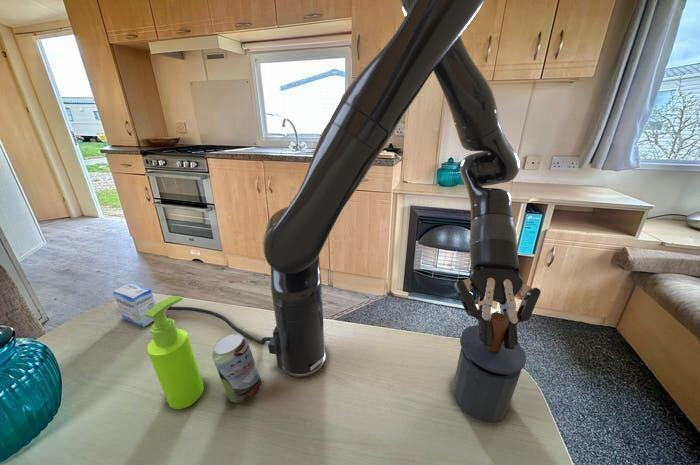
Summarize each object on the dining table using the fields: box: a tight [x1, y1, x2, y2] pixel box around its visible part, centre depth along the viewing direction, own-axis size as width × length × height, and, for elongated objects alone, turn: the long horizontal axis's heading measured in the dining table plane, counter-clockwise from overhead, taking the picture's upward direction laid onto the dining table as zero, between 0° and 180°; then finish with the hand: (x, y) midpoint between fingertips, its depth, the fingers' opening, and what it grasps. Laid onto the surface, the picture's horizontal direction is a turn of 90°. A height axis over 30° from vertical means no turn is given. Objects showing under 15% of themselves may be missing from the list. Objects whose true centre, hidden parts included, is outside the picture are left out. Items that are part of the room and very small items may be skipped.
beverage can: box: [211, 332, 262, 404], centre depth 50 cm, size 6×7×12 cm
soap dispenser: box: [144, 295, 205, 410], centre depth 48 cm, size 6×7×20 cm
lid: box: [459, 312, 527, 374], centre depth 46 cm, size 10×10×7 cm
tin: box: [452, 346, 522, 423], centre depth 49 cm, size 9×9×10 cm
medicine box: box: [112, 282, 157, 328], centre depth 69 cm, size 8×4×9 cm, turn 68°
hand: (498, 346), depth 44 cm, fingers closed on lid, 2 cm apart
